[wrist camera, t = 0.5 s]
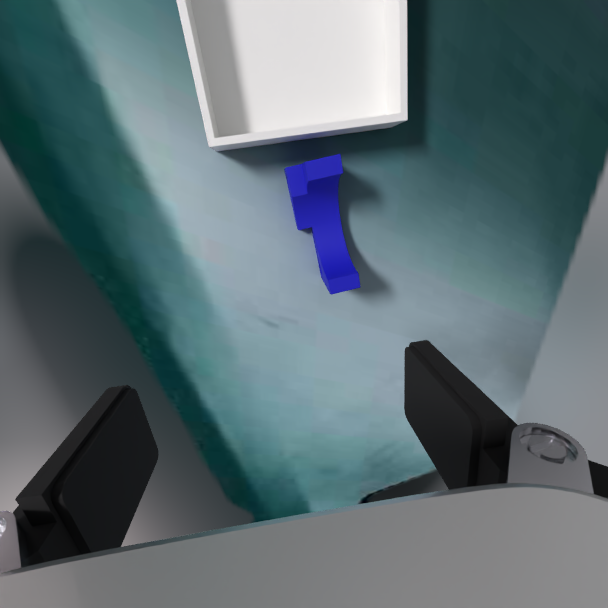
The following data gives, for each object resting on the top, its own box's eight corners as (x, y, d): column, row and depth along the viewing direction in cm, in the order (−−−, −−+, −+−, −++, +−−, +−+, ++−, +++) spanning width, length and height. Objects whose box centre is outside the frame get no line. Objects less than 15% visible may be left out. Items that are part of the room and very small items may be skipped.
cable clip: (284, 169, 31) (287, 165, 25) (327, 159, 31) (340, 153, 25) (308, 280, 35) (315, 298, 30) (346, 271, 36) (360, 287, 30)
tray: (164, -90, 23) (144, -142, 20) (385, -112, 24) (406, -166, 20) (216, 151, 30) (209, 146, 26) (390, 127, 30) (407, 119, 27)
